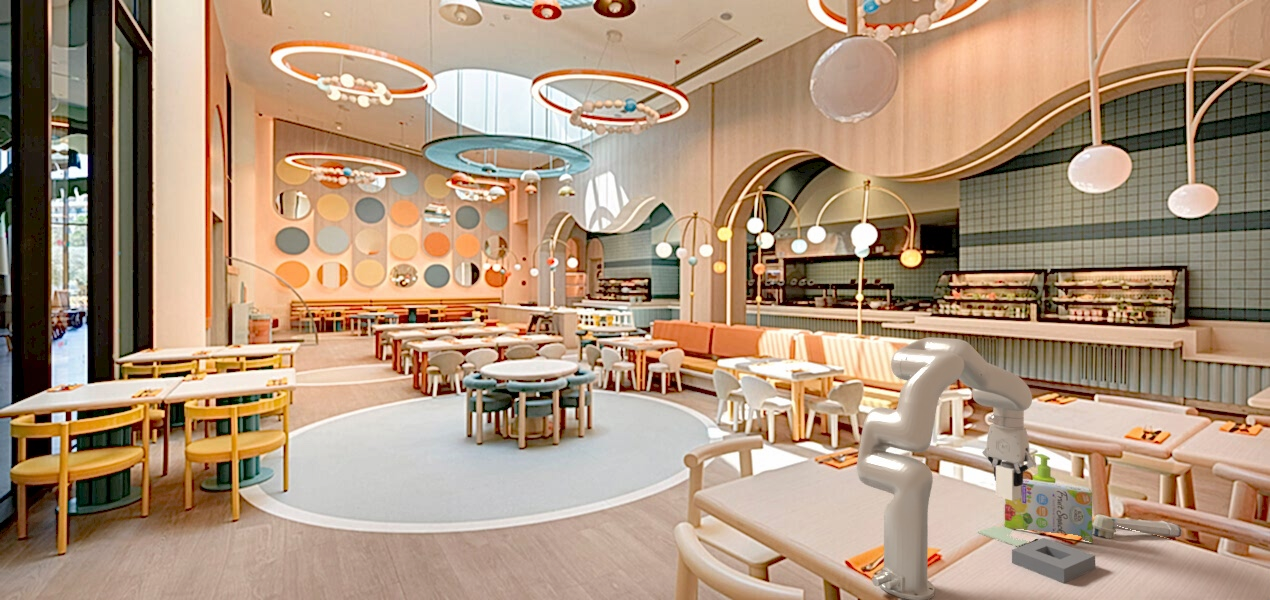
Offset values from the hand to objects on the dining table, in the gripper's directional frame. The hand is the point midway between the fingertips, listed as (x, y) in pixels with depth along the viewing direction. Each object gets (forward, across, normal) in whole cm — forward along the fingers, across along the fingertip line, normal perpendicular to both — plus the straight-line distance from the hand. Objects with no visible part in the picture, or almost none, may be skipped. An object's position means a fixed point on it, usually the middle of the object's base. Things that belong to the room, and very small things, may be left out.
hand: (1008, 482), depth 164 cm
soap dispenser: (+16, -3, +26) cm, 31 cm away
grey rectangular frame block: (+16, +16, -9) cm, 24 cm away
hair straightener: (+17, +17, +34) cm, 42 cm away
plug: (+4, 0, 0) cm, 4 cm away
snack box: (+16, +4, +13) cm, 21 cm away
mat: (+16, 0, 0) cm, 16 cm away
